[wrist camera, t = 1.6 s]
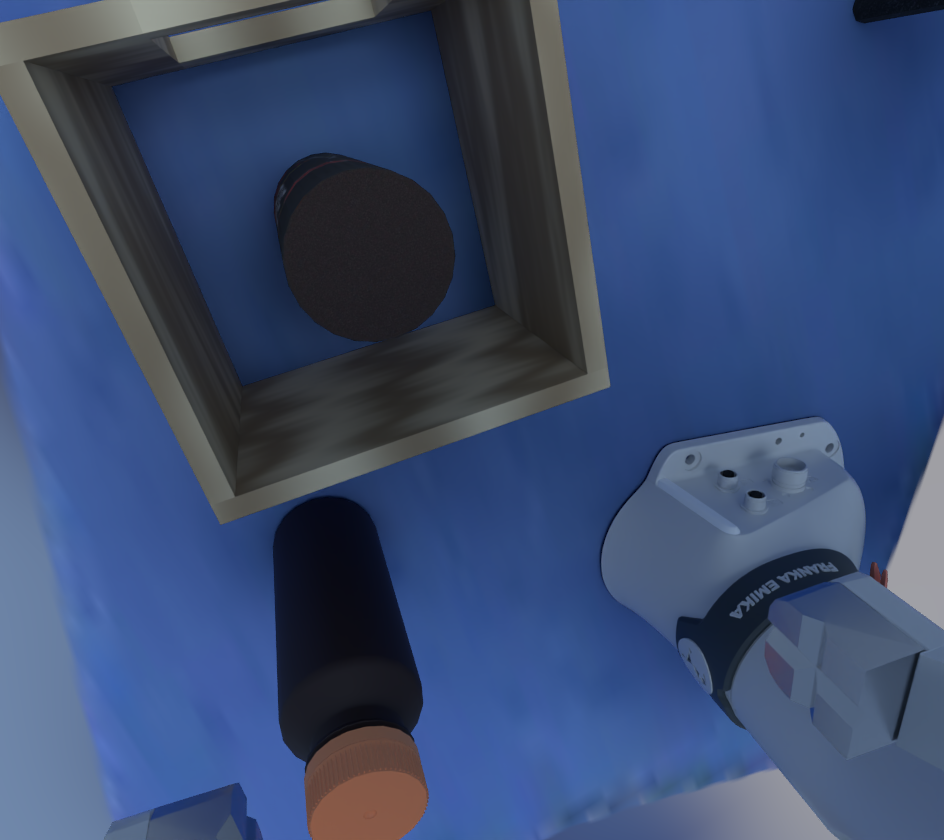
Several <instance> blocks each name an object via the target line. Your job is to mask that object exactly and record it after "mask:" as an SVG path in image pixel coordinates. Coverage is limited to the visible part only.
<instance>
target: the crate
mask: <svg viewBox="0 0 944 840" xmlns="http://www.w3.org/2000/svg"><path fill="white" fill-rule="evenodd" d="M317 1H322V0H104V1H99V2H94V3H90V4H85V5H80V6H76V7H71V8H67V9H62V10H57V11H53V12H48V13H43V14H39V15H34V16H30V17H25V18H20V19H16V20H11V21H6V22H2V23H0V95H1V97H2V99H3V101H4V103H5V105H6V107H7V108H8V110H9V112H10V114H11V116H12V118H13V120H14V122H15V124H16V126H17V128H18V130H19V132H20V134H21V136H22V138H23V140H24V142H25V144H26V146H27V148H28V150H29V151H30V153H31V155H32V157H33V159H34V161H35V163H36V165H37V167H38V169H39V171H40V173H41V175H42V177H43V179H44V181H45V183H46V185H47V187H48V189H49V191H50V192H51V194H52V196H53V198H54V200H55V202H56V204H57V206H58V208H59V210H60V212H61V214H62V216H63V218H64V220H65V222H66V224H67V226H68V228H69V230H70V232H71V234H72V235H73V237H74V239H75V241H76V243H77V245H78V247H79V249H80V251H81V253H82V255H83V257H84V259H85V261H86V263H87V265H88V267H89V269H90V271H91V273H92V275H93V277H94V278H95V280H96V282H97V284H98V286H99V288H100V290H101V292H102V294H103V296H104V298H105V300H106V302H107V304H108V306H109V308H110V310H111V312H112V314H113V316H114V318H115V320H116V321H117V323H118V325H119V327H120V329H121V331H122V333H123V335H124V337H125V339H126V341H127V343H128V345H129V347H130V349H131V351H132V353H133V355H134V357H135V359H136V361H137V363H138V364H139V366H140V368H141V370H142V372H143V374H144V376H145V378H146V380H147V382H148V384H149V386H150V388H151V390H152V392H153V394H154V396H155V398H156V400H157V402H158V404H159V405H160V407H161V409H162V411H163V413H164V415H165V417H166V419H167V421H168V423H169V425H170V427H171V429H172V431H173V433H174V435H175V437H176V439H177V441H178V443H179V445H180V447H181V448H182V450H183V452H184V454H185V456H186V458H187V460H188V462H189V464H190V466H191V468H192V470H193V472H194V474H195V476H196V478H197V480H198V482H199V484H200V486H201V488H202V490H203V491H204V493H205V495H206V497H207V499H208V501H209V503H210V505H211V507H212V509H213V511H214V513H215V515H216V517H217V519H218V521H219V523H220V525H222V524H224V523H227V522H230V521H233V520H236V519H238V518H241V517H244V516H247V515H250V514H253V513H255V512H258V511H261V510H264V509H267V508H270V507H272V506H275V505H278V504H281V503H284V502H286V501H289V500H292V499H295V498H298V497H301V496H303V495H306V494H309V493H312V492H315V491H318V490H320V489H323V488H326V487H329V486H332V485H334V484H337V483H340V482H343V481H346V480H349V479H351V478H354V477H357V476H360V475H363V474H366V473H368V472H371V471H374V470H377V469H380V468H382V467H385V466H388V465H391V464H394V463H397V462H399V461H402V460H405V459H408V458H411V457H414V456H416V455H419V454H422V453H425V452H428V451H430V450H433V449H436V448H439V447H442V446H445V445H447V444H450V443H453V442H456V441H459V440H462V439H464V438H467V437H470V436H473V435H476V434H478V433H481V432H484V431H487V430H490V429H493V428H495V427H498V426H501V425H504V424H507V423H510V422H512V421H515V420H518V419H521V418H524V417H526V416H529V415H532V414H535V413H538V412H541V411H543V410H546V409H549V408H552V407H555V406H558V405H560V404H563V403H566V402H569V401H572V400H574V399H577V398H580V397H583V396H586V395H589V394H591V393H594V392H597V391H600V390H603V389H605V388H608V387H610V380H609V373H608V365H607V358H606V351H605V344H604V336H603V329H602V322H601V315H600V308H599V300H598V293H597V286H596V279H595V271H594V264H593V257H592V250H591V242H590V235H589V228H588V221H587V213H586V206H585V199H584V192H583V185H582V177H581V170H580V163H579V156H578V148H577V141H576V134H575V127H574V119H573V112H572V105H571V98H570V90H569V83H568V76H567V69H566V61H565V54H564V47H563V40H562V33H561V25H560V18H559V11H558V4H557V0H330V1H325V2H321V3H317V4H312V5H308V6H304V7H299V8H295V9H290V10H286V11H282V12H277V13H273V14H269V15H264V16H260V17H255V18H251V19H247V20H242V21H238V22H234V23H229V24H225V25H221V26H216V27H212V28H207V29H203V30H199V31H194V32H190V33H186V34H181V35H177V36H172V37H168V35H173V34H177V33H182V32H186V31H190V30H195V29H199V28H203V27H208V26H212V25H217V24H221V23H225V22H230V21H234V20H238V19H243V18H247V17H252V16H256V15H260V14H265V13H269V12H273V11H278V10H282V9H287V8H291V7H295V6H300V5H304V4H308V3H313V2H317ZM426 11H431V12H432V16H433V21H434V26H435V30H436V35H437V39H438V44H439V49H440V53H441V58H442V62H443V67H444V72H445V76H446V81H447V86H448V90H449V95H450V99H451V104H452V109H453V113H454V118H455V122H456V127H457V132H458V136H459V141H460V145H461V150H462V155H463V159H464V164H465V168H466V173H467V178H468V182H469V187H470V191H471V196H472V201H473V205H474V210H475V214H476V219H477V224H478V228H479V233H480V237H481V242H482V247H483V251H484V256H485V260H486V265H487V270H488V274H489V279H490V283H491V288H492V293H493V297H494V302H495V305H494V306H491V307H488V308H485V309H482V310H479V311H476V312H472V313H469V314H466V315H463V316H460V317H457V318H454V319H451V320H448V321H444V322H441V323H438V324H435V325H432V326H429V327H426V328H423V329H420V330H416V331H413V332H410V333H407V334H404V335H402V336H400V337H398V338H393V339H388V340H385V341H382V342H379V343H376V344H373V345H370V346H367V347H363V348H360V349H357V350H354V351H351V352H348V353H345V354H342V355H339V356H335V357H332V358H329V359H326V360H323V361H320V362H317V363H314V364H311V365H307V366H304V367H301V368H298V369H295V370H292V371H289V372H286V373H283V374H279V375H276V376H273V377H270V378H267V379H264V380H261V381H258V382H255V383H251V384H248V385H245V386H242V385H241V382H240V380H239V378H238V375H237V373H236V371H235V369H234V366H233V364H232V362H231V359H230V357H229V355H228V352H227V350H226V348H225V346H224V343H223V341H222V339H221V336H220V334H219V332H218V330H217V327H216V325H215V323H214V320H213V318H212V316H211V314H210V311H209V309H208V307H207V304H206V302H205V300H204V298H203V295H202V293H201V291H200V288H199V286H198V284H197V282H196V279H195V277H194V275H193V272H192V270H191V268H190V265H189V263H188V261H187V259H186V256H185V254H184V252H183V249H182V247H181V245H180V243H179V240H178V238H177V236H176V233H175V231H174V229H173V227H172V224H171V222H170V220H169V217H168V215H167V213H166V211H165V208H164V206H163V204H162V201H161V199H160V197H159V194H158V192H157V190H156V188H155V185H154V183H153V181H152V178H151V176H150V174H149V172H148V169H147V167H146V165H145V162H144V160H143V158H142V156H141V153H140V151H139V149H138V146H137V144H136V142H135V140H134V137H133V135H132V133H131V130H130V128H129V126H128V123H127V121H126V119H125V117H124V114H123V112H122V110H121V107H120V105H119V103H118V101H117V98H116V96H115V94H114V91H113V89H112V87H111V86H115V85H119V84H124V83H128V82H132V81H136V80H140V79H145V78H149V77H153V76H157V75H161V74H166V73H170V72H174V71H178V70H182V69H187V68H191V67H195V66H199V65H203V64H208V63H212V62H216V61H220V60H225V59H229V58H233V57H237V56H241V55H246V54H250V53H254V52H258V51H262V50H267V49H271V48H275V47H279V46H283V45H288V44H292V43H296V42H300V41H304V40H309V39H313V38H317V37H321V36H326V35H330V34H334V33H338V32H342V31H347V30H351V29H355V28H359V27H363V26H368V25H372V24H376V23H380V22H384V21H389V20H393V19H397V18H401V17H405V16H410V15H414V14H418V13H422V12H426Z"/></svg>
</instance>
